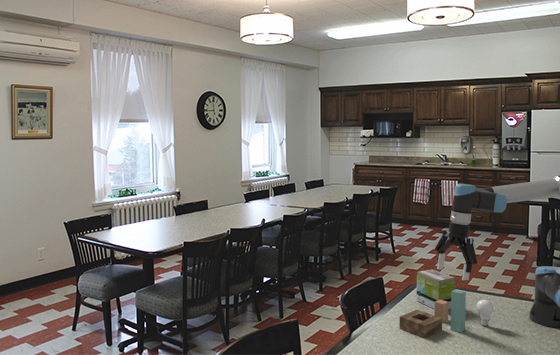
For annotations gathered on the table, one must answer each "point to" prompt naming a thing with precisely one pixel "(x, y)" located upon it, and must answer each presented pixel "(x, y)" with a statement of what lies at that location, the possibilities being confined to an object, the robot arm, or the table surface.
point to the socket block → (420, 323)
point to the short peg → (441, 309)
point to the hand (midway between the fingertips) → (452, 274)
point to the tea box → (434, 287)
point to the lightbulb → (484, 310)
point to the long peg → (458, 310)
